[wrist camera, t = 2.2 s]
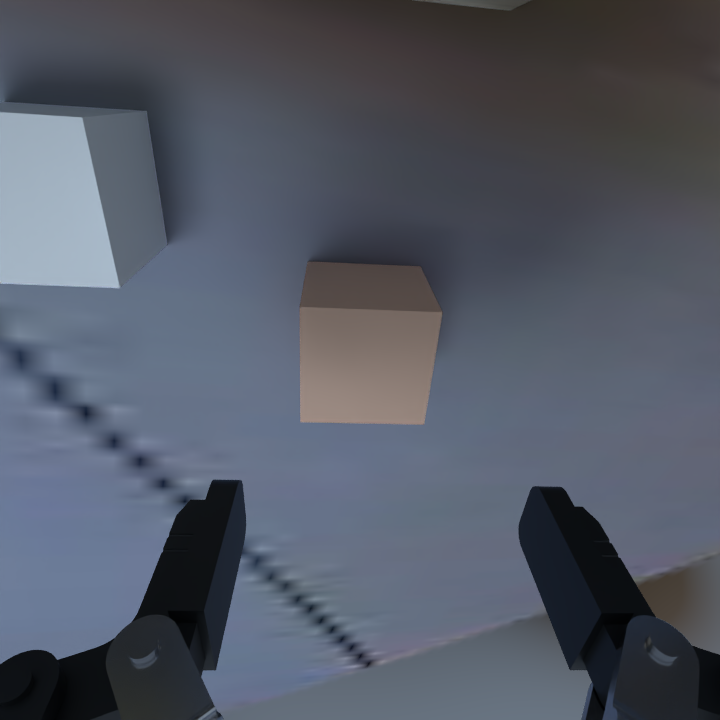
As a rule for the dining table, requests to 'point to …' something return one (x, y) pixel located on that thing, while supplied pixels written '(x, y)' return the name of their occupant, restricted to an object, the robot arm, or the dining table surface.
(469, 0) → the gray block
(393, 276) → the terracotta cube
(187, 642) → the robot arm
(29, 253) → the offwhite cube
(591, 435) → the dining table surface
